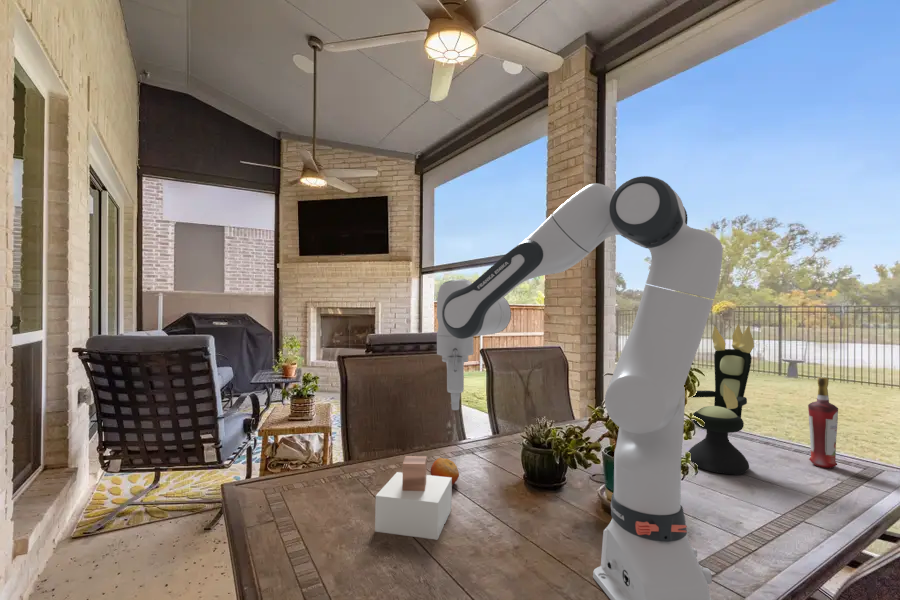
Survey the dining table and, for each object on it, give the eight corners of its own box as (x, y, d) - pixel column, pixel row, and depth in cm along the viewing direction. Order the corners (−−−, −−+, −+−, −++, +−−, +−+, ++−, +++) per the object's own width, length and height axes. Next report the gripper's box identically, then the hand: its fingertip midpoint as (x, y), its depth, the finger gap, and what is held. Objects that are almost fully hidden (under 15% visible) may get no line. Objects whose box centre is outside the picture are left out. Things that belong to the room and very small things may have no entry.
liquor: (813, 460, 143) (813, 375, 144) (842, 467, 137) (842, 378, 138) (804, 464, 140) (804, 377, 140) (833, 471, 133) (833, 380, 134)
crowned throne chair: (669, 459, 142) (670, 322, 143) (713, 451, 151) (714, 322, 152) (727, 480, 125) (727, 324, 126) (773, 469, 134) (773, 324, 135)
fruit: (427, 472, 125) (442, 449, 124) (450, 488, 123) (465, 465, 122) (420, 483, 117) (435, 459, 116) (444, 501, 115) (460, 476, 115)
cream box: (437, 541, 91) (438, 502, 91) (374, 532, 94) (375, 495, 94) (451, 510, 105) (451, 477, 105) (396, 504, 108) (397, 472, 108)
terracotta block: (424, 491, 97) (425, 464, 97) (402, 490, 97) (402, 463, 97) (426, 482, 102) (426, 456, 102) (405, 481, 102) (405, 456, 102)
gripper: (469, 351, 94) (470, 415, 94) (466, 344, 114) (467, 396, 114) (440, 351, 94) (440, 415, 94) (443, 344, 114) (443, 396, 114)
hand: (455, 405), depth 104 cm, fingers open, 8 cm apart
